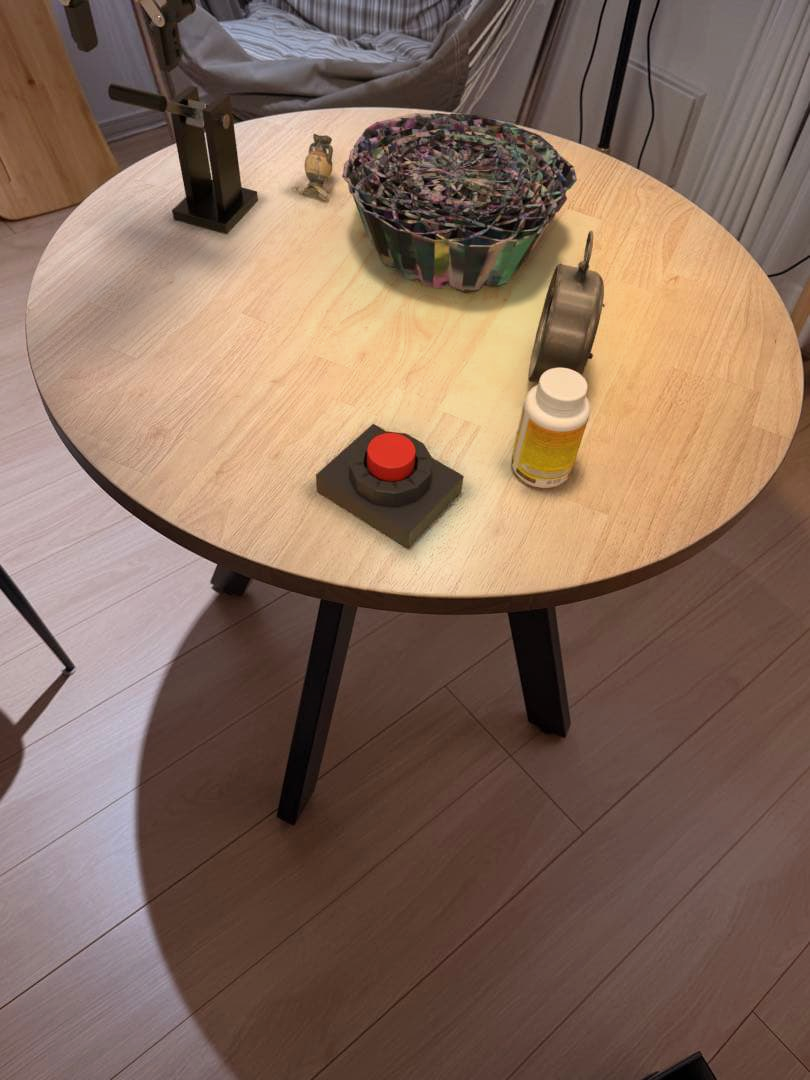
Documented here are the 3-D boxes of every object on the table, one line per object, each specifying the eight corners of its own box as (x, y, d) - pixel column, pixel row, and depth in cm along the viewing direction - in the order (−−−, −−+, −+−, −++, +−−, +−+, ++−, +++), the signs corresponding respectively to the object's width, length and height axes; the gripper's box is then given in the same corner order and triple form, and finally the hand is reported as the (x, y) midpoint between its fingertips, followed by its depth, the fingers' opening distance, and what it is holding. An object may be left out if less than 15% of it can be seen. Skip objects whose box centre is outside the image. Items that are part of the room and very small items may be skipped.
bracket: (226, 234, 92) (210, 121, 81) (173, 219, 93) (150, 107, 83) (258, 200, 96) (246, 89, 86) (207, 187, 97) (189, 76, 87)
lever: (157, 116, 74) (160, 88, 73) (107, 104, 75) (108, 76, 74) (229, 134, 87) (232, 110, 86) (185, 123, 88) (187, 100, 87)
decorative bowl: (563, 208, 102) (581, 127, 94) (553, 327, 84) (575, 239, 76) (369, 180, 103) (372, 99, 96) (318, 291, 85) (316, 202, 78)
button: (423, 461, 67) (425, 447, 66) (395, 489, 65) (396, 475, 64) (386, 439, 68) (387, 425, 67) (357, 466, 66) (357, 452, 65)
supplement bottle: (579, 486, 71) (608, 402, 63) (520, 495, 70) (542, 411, 62) (559, 442, 74) (584, 357, 66) (502, 449, 73) (520, 364, 65)
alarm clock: (532, 342, 83) (566, 195, 70) (584, 351, 82) (627, 205, 69) (520, 413, 76) (554, 266, 63) (576, 423, 76) (622, 277, 63)
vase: (312, 172, 101) (310, 124, 96) (349, 183, 99) (349, 136, 95) (290, 191, 98) (286, 143, 93) (328, 203, 96) (326, 155, 92)
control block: (461, 492, 70) (466, 461, 67) (407, 548, 66) (410, 519, 63) (372, 440, 73) (373, 408, 70) (316, 491, 69) (314, 460, 66)
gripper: (-34, -179, 58) (38, 58, 71) (134, -149, 56) (176, 92, 69) (30, -200, 63) (86, 28, 76) (188, -173, 60) (218, 58, 73)
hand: (129, 58), depth 72 cm, fingers open, 8 cm apart
